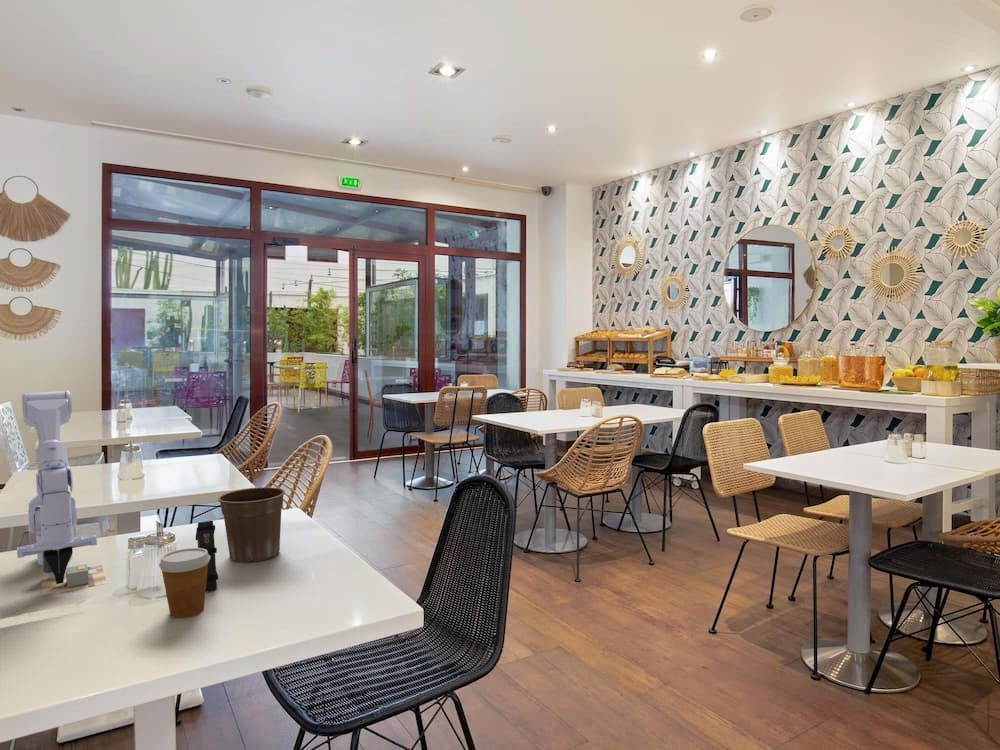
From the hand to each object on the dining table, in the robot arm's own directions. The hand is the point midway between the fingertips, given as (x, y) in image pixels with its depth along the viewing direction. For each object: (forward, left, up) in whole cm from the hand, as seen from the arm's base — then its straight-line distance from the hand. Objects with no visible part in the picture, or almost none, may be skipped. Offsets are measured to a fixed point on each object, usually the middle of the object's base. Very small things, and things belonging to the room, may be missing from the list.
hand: (59, 582), depth 144 cm
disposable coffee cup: (+29, +21, -3) cm, 36 cm away
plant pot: (+1, +42, -3) cm, 42 cm away
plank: (-3, +3, -2) cm, 5 cm away
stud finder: (0, +3, -1) cm, 3 cm away
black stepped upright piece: (+14, +28, -3) cm, 31 cm away
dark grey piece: (-7, -1, -1) cm, 7 cm away
